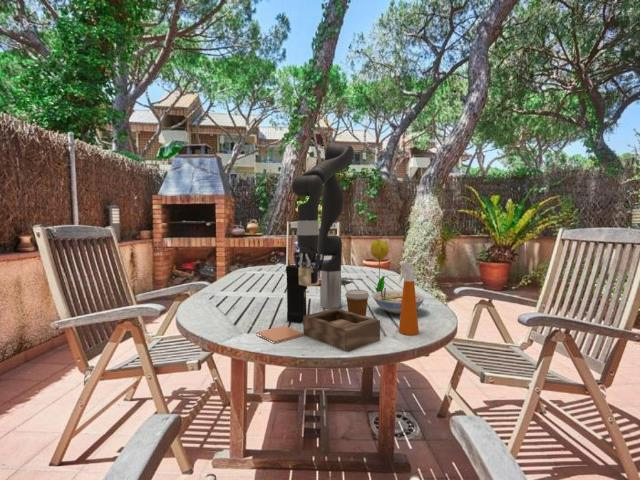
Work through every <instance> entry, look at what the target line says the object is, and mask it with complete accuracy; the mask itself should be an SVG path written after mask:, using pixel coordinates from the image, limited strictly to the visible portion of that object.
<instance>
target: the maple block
mask: <svg viewBox="0 0 640 480" xmlns="http://www.w3.org/2000/svg"><path fill="white" fill-rule="evenodd" d="M313 268H314V266H313ZM314 269H315V268H314ZM317 275H318V277H317V279H318V281H317V283H314V284H312V283H311V269H310V267H309V266H308V265H307V267H300V268H299V285H303V286H307V288H308V287H313V286H318V285H320V271H319V272H318V273H317Z"/></svg>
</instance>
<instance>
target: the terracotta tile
mask: <svg viewBox="0 0 640 480" xmlns="http://www.w3.org/2000/svg"><path fill="white" fill-rule="evenodd" d="M256 334H259V335H261V336H262V337H264V338H266V339H268V340H270V341H272V342H274V343H277V342H280V343H282V342H281V341H284V342H286V341H285V340H287V341H290V340H293V339H294V340H295V339H296V338H300V337H304V335H303V332H301V331H298V330H296V329H293V328H291V327H288V326H286V325H280V326H277V327H272V328H270V329H269V328H268V329H263V330H261V331H260V330H259V331H256V332H255V335H256ZM289 339H290V340H289ZM277 344H278V343H277Z"/></svg>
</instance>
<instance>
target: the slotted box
mask: <svg viewBox="0 0 640 480" xmlns="http://www.w3.org/2000/svg"><path fill="white" fill-rule="evenodd" d="M302 324H303V327H302V328H303V330H302V331H303V332H302V333H303V336H307V337H309V338H310V339H314V340H316V341H318V342H320V343H323V342H324V344H326V343H327V345H329V344H330V345H329V346H331V345H332V347H334V346H335V347H334V348H336V347H337V348H336V349H339V348H340V349H339V350H341V349H342V351H344V350H345V351H344V352H346V351H348V352H350V350H351V351H353V350H356V349H358V348H361V346H362V347H364V346H367V345H370V344H372V343H374V342H375V343H376V342H378V341H380V340H381V320H380V319H376V318H373V317H370V316H367V315H366V316H363V315H359V314H356V313H352V312H348V310H345V309H341V308H334V309H327V310H323V311H317V312H314V313H310V314H307V315H305V316H303V322H302ZM369 343H370V344H369Z"/></svg>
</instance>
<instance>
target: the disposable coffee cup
mask: <svg viewBox="0 0 640 480" xmlns="http://www.w3.org/2000/svg"><path fill="white" fill-rule="evenodd" d="M345 298H346V304H347V311H348V312H352V313H356V314H359V315H363V316H366V317H367V309H368V300H369V298H370V294H369V291H368V290H366V289H349V290H347V291H346V292H345Z"/></svg>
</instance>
